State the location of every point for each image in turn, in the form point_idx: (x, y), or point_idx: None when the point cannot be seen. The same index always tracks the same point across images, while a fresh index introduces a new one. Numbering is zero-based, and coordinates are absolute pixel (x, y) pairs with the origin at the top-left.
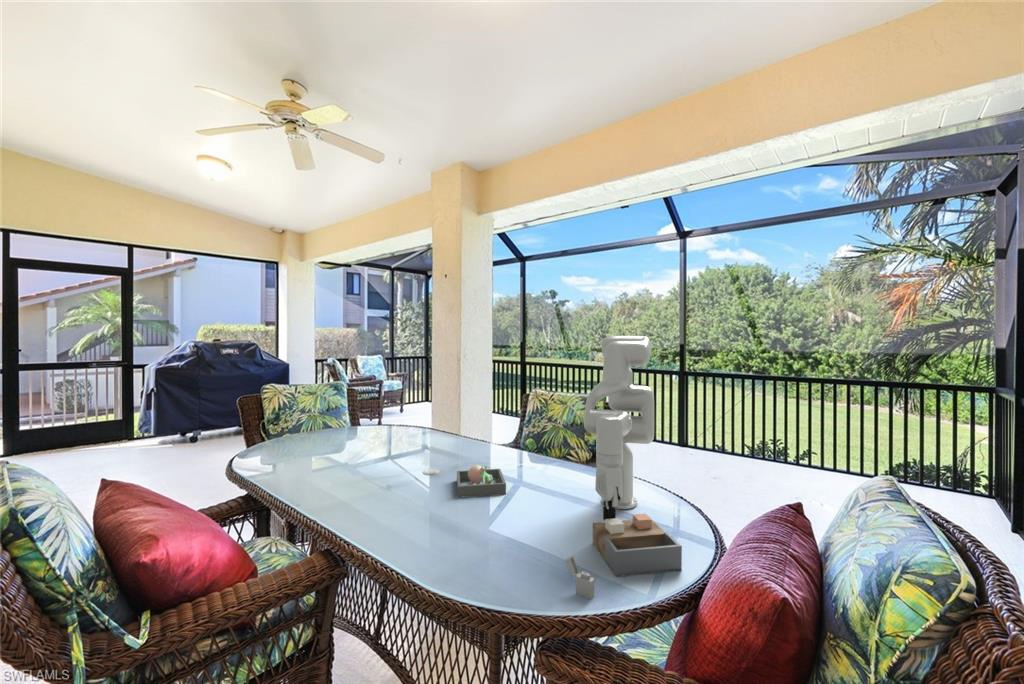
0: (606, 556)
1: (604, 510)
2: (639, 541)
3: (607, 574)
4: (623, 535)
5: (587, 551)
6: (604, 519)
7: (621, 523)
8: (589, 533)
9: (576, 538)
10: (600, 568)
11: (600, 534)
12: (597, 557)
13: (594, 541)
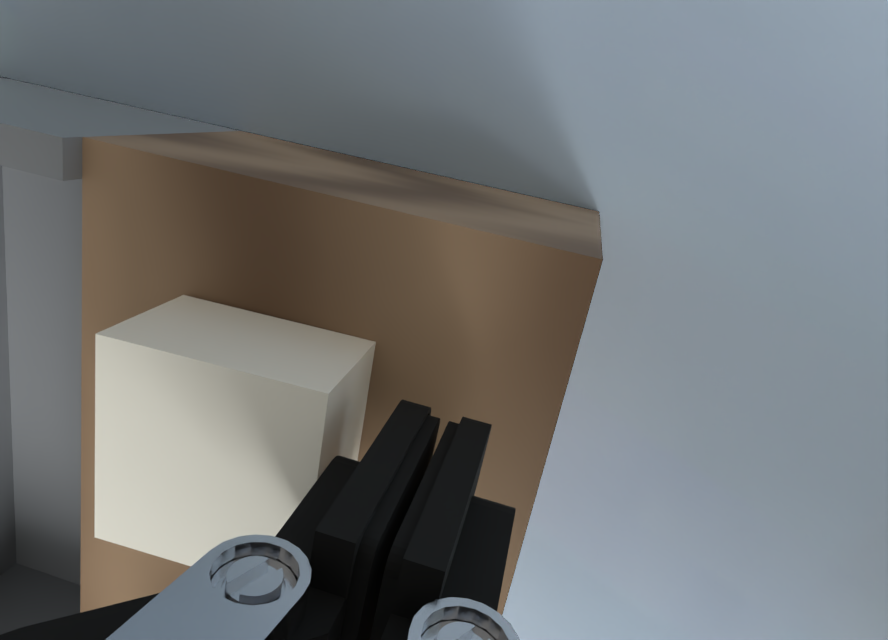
0: (153, 120)
1: (367, 503)
2: None
3: (35, 23)
4: None
5: (454, 51)
6: (419, 413)
7: (109, 511)
8: (827, 304)
9: (797, 79)
10: (130, 12)
11: (249, 172)
12: (312, 93)
13: (533, 202)
